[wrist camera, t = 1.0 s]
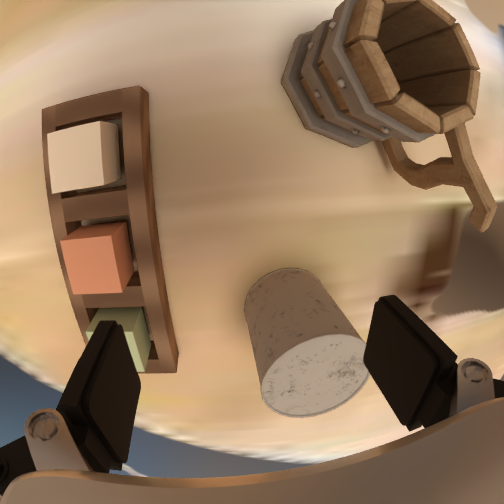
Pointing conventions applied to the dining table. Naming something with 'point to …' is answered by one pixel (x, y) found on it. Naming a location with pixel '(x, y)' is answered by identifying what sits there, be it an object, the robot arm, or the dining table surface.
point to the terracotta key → (98, 258)
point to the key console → (117, 204)
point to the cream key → (83, 156)
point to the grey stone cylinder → (302, 345)
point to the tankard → (393, 88)
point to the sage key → (128, 331)
